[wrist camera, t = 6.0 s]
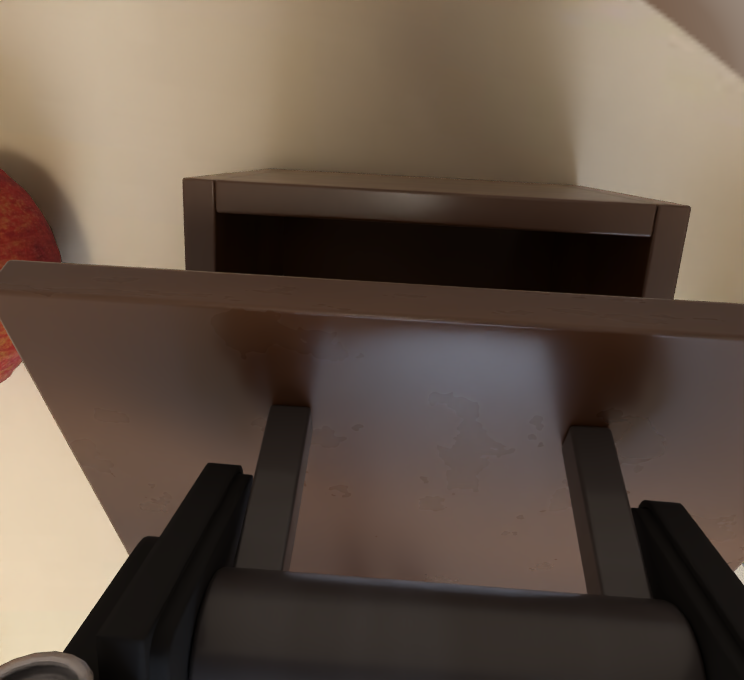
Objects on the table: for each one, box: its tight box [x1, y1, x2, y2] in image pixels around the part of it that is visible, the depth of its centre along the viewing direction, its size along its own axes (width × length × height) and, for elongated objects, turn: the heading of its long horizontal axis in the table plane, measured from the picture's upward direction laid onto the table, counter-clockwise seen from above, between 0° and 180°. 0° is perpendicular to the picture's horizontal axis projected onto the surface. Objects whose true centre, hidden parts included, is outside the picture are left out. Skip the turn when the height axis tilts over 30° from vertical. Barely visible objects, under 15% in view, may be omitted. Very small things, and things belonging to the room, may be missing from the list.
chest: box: [183, 169, 691, 300], centre depth 25 cm, size 16×14×11 cm
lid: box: [0, 260, 744, 680], centre depth 13 cm, size 17×14×5 cm
